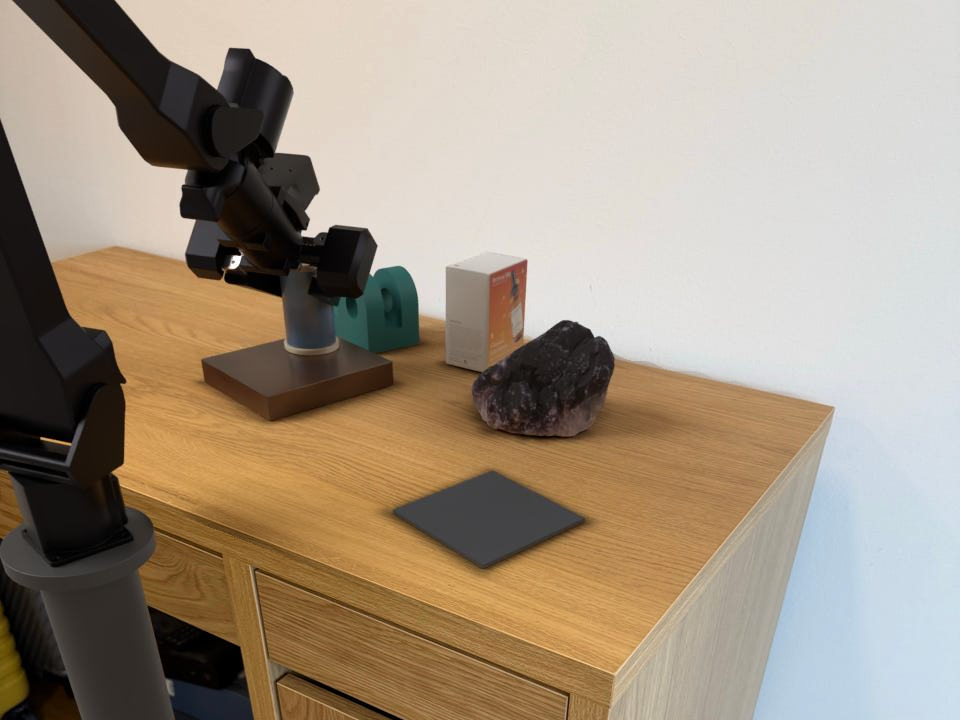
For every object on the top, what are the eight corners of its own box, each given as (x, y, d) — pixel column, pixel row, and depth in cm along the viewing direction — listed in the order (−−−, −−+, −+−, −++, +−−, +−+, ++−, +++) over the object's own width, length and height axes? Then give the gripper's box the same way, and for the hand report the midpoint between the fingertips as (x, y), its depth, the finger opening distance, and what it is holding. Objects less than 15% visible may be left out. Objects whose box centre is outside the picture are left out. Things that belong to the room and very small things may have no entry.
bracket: (419, 343, 106) (417, 273, 102) (368, 354, 103) (364, 282, 98) (344, 303, 118) (339, 239, 113) (297, 312, 115) (290, 246, 110)
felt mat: (483, 569, 67) (483, 564, 67) (392, 513, 74) (392, 509, 74) (584, 521, 73) (585, 517, 73) (492, 474, 80) (492, 470, 80)
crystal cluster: (447, 411, 92) (444, 316, 86) (552, 374, 98) (557, 281, 91) (527, 470, 84) (530, 370, 78) (636, 426, 90) (648, 329, 83)
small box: (486, 375, 99) (489, 274, 92) (444, 364, 101) (443, 265, 95) (524, 354, 104) (529, 257, 98) (483, 344, 106) (485, 249, 100)
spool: (303, 359, 94) (294, 269, 89) (274, 344, 98) (263, 256, 92) (349, 347, 98) (343, 259, 92) (319, 333, 101) (312, 247, 96)
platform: (270, 421, 88) (266, 396, 86) (204, 382, 96) (200, 358, 94) (393, 384, 96) (392, 361, 95) (324, 351, 104) (322, 329, 102)
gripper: (362, 132, 79) (416, 238, 94) (180, 117, 84) (258, 220, 99) (327, 248, 78) (387, 337, 93) (145, 227, 83) (229, 314, 98)
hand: (314, 299), depth 96 cm, fingers closed on spool, 5 cm apart
